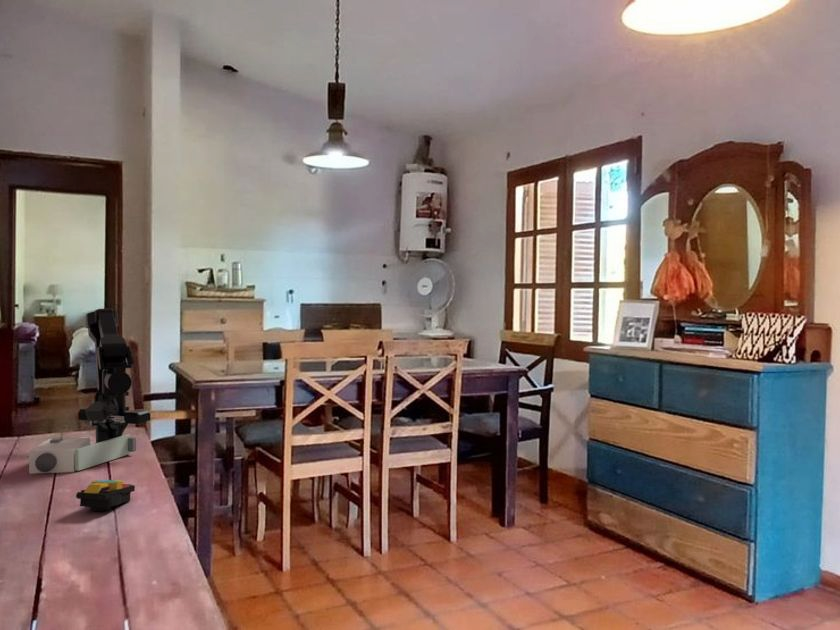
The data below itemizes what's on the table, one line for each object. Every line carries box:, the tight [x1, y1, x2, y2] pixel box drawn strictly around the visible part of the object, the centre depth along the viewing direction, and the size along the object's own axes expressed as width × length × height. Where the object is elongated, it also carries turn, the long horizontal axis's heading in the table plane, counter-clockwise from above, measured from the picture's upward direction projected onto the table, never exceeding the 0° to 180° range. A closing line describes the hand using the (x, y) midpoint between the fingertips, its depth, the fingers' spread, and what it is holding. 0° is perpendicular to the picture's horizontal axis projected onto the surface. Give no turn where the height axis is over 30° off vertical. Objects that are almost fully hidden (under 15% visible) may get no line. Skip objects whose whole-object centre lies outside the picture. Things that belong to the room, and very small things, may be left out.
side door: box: [75, 433, 137, 472], centre depth 182 cm, size 19×3×5 cm, turn 164°
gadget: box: [75, 479, 136, 512], centre depth 146 cm, size 6×13×6 cm, turn 173°
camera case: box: [28, 437, 91, 475], centre depth 178 cm, size 15×10×6 cm, turn 10°
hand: (114, 447), depth 189 cm, fingers closed
